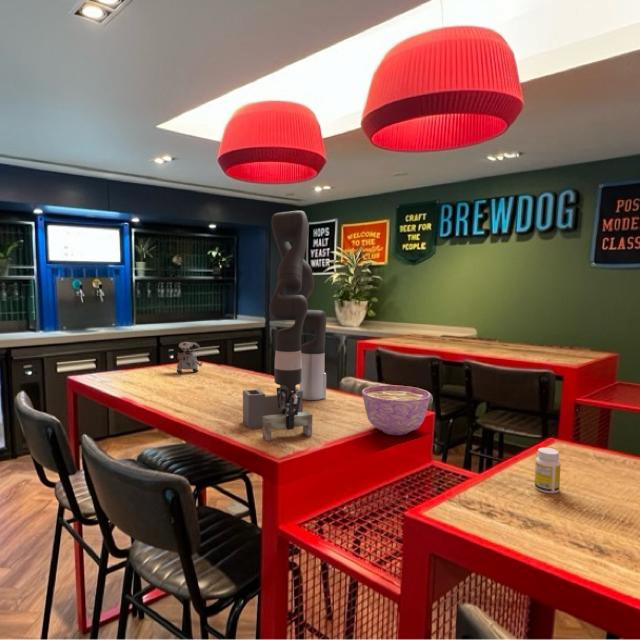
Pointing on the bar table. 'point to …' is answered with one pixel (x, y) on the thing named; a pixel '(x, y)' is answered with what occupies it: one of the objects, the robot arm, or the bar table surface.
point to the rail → (280, 422)
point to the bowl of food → (395, 407)
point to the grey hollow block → (262, 406)
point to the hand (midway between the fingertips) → (287, 426)
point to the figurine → (188, 357)
